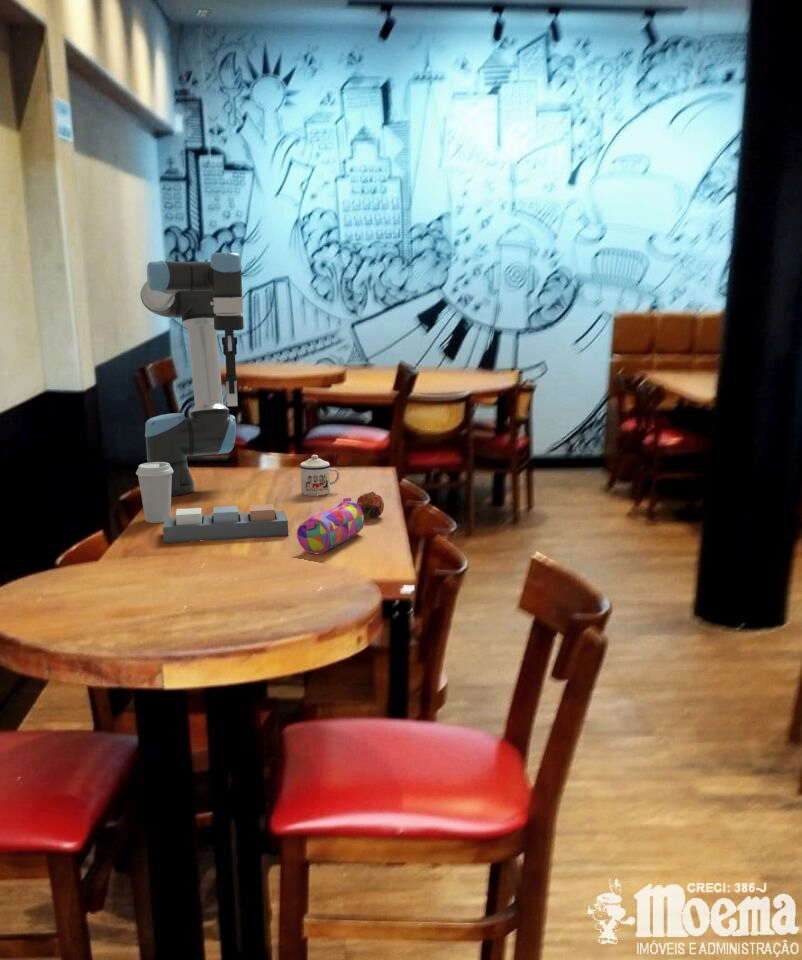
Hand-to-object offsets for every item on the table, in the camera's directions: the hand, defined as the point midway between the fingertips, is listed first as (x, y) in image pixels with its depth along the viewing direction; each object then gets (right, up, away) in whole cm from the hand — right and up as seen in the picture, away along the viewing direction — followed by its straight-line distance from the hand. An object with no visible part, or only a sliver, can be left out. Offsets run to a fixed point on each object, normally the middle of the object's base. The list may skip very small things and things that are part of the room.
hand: (232, 405), depth 226 cm
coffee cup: (-21, -30, +4) cm, 37 cm away
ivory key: (-8, -32, -12) cm, 35 cm away
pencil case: (+28, -35, -18) cm, 48 cm away
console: (+1, -33, -10) cm, 35 cm away
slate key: (+1, -31, -11) cm, 33 cm away
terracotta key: (+9, -31, -9) cm, 33 cm away
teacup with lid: (+20, -24, +34) cm, 46 cm away
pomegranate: (+36, -30, +5) cm, 47 cm away
